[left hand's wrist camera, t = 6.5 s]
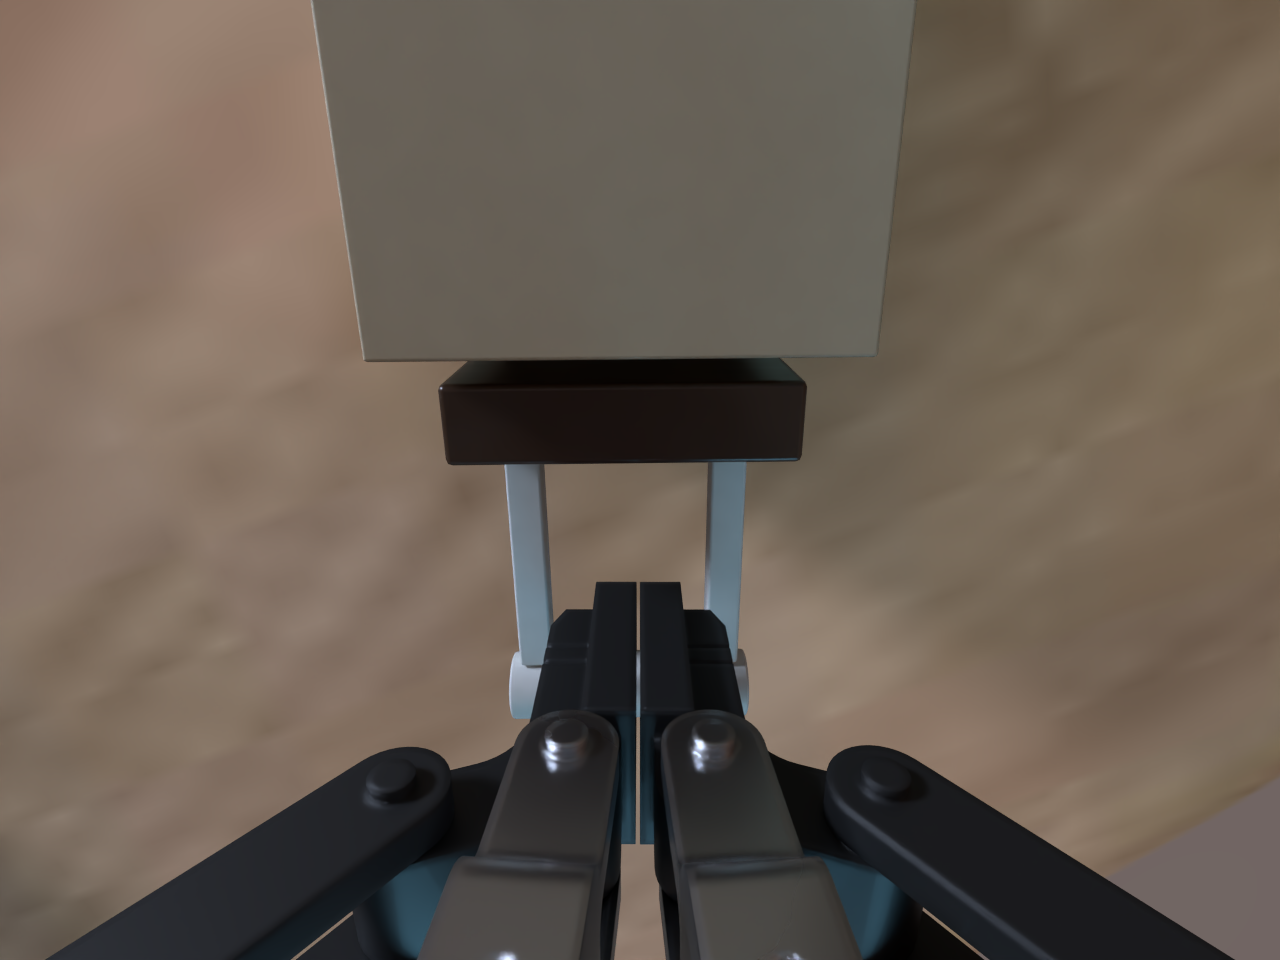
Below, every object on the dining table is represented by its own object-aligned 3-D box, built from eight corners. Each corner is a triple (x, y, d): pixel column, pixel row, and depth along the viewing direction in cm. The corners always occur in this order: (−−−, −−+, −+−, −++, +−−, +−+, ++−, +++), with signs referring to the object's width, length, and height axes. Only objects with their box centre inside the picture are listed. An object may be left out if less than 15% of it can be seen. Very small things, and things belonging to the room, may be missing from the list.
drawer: (732, 605, 18) (778, 780, 12) (527, 607, 18) (480, 784, 12) (792, -760, 10) (992, -1976, 4) (426, -760, 10) (170, -1985, 4)
